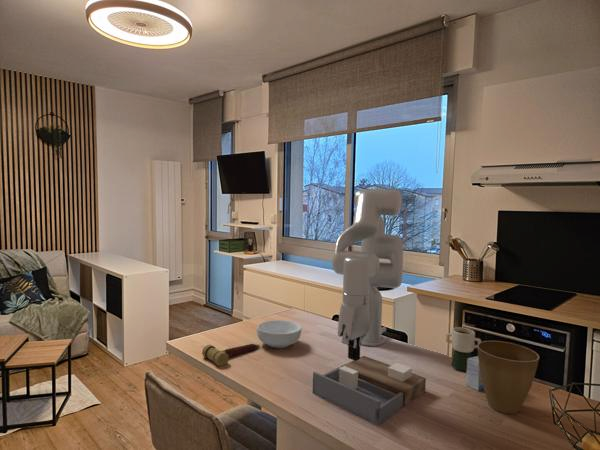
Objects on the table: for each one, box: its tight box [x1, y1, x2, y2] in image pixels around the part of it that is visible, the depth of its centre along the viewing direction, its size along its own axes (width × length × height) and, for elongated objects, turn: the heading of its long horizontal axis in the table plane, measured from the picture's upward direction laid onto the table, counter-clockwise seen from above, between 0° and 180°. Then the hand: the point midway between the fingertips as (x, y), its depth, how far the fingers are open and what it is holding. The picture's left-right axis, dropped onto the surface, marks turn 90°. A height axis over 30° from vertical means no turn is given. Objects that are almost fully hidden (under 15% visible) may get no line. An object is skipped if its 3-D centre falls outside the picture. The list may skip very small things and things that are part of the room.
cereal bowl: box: [256, 319, 302, 349], centre depth 148 cm, size 17×17×7 cm
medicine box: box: [465, 355, 484, 392], centre depth 118 cm, size 8×4×9 cm, turn 118°
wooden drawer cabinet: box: [340, 355, 427, 407], centre depth 117 cm, size 12×22×4 cm, turn 46°
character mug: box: [445, 326, 482, 371], centre depth 130 cm, size 11×7×13 cm, turn 60°
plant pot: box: [476, 340, 540, 415], centre depth 106 cm, size 15×15×16 cm
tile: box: [388, 362, 413, 381], centre depth 115 cm, size 5×5×2 cm
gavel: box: [201, 343, 260, 367], centre depth 138 cm, size 21×5×10 cm
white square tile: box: [339, 365, 358, 389], centre depth 114 cm, size 5×5×2 cm
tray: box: [312, 366, 404, 426], centre depth 108 cm, size 12×22×6 cm, turn 46°
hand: (353, 358), depth 116 cm, fingers closed
